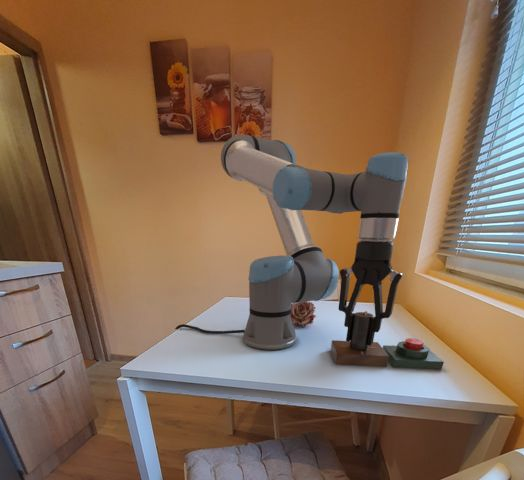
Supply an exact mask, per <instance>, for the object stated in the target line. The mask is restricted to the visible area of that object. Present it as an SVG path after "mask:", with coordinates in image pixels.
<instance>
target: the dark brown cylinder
mask: <svg viewBox="0 0 524 480" xmlns="http://www.w3.org/2000/svg"><path fill="white" fill-rule="evenodd" d="M353 313H354V318H353V325H352V332H351V339H350V348H351V349H354V350H358V351H365V350H367V349H368V345H367V343H368V337H369V331H370V326H371V320H372V318H373V317H374V314H372V313H370V312H368V311H364V312H363V311H360V312H359V311H358V312H353Z"/></svg>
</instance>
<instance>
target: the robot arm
mask: <svg viewBox="0 0 524 480" xmlns="http://www.w3.org/2000/svg"><path fill="white" fill-rule="evenodd" d="M294 151H295V150H294V149H293V148H292V146H291V145H290V144H288V143H287V142H283V141H281V140H279V139H269V138H264V137H259V136H253V135H248V134H237V135H234V136H232V137H230V138H229V139H228V140H226V141H225V143H224V145H223V146H222V148H221V152H220V163H221V167H222V169H223V170H224V172H225V173H226V175H228V176H229V177H230V178H232V179H234V180H235V181H237V182H247V183H249V184H251V185H252V186H254V187H256V188H258V191H259V193H260V194H262V196H265V197H266V199H267V203H268V205H269V209H270V211H271V215H272V217H273V221H274V222H275V226H276V228H277V232H278V234H279V237H280V241H281V243H282V246H283V249H284V252H285V254H286V255H272V256H271V255H269V256H264V257H260V258H257V259H255V260H253V261H252V262H251V263H250V265H249V271H248V274H249V275H248V289H249V292H248V293H249V294H248V295H249V296H248V297H249V298H248V300H249V301H248V302H249V315H248V319H247V322H246V325H245V329H234V330H233V329H231V330H209V329H202V328H200V327H197V326H194V325H190V324H183V323H181V324H178V325H176V327H175V330H179V329H181V328H188V329H190V330H191V329H192V330H196V331H199V332H200V333H203V334H210V335H211V334H212V335H217V334H218V335H227V334H228V335H229V334H243V343H244V344H245V345H247V346H249V347H250V348H254V349H257V350H263V351H278V350H285V349H288V348H291V347H292V346H294V345H295V344H296V338H297V336H296V330H295V326H294V322H292V319H291V304H293V303H298V302H317V301H321V300H324V299H328V298H329V297H331V296H332V295H333V294H334V292H335V291H336V289H337V287H338V283H339V279H340V280H341V281H340V291H339V299H338V308H337V309H338V311H340V312H343V313H344V315H345V316H344V324H343V325H344V327H345V328H347V331H346V338H345V341H350V339H351V332H352V325H353V318H354V313H355V312H354V311H355V308H356V305H357V302H358V300H359V297H360V294H361V292H362V290H363V287H364V286H365V285H369V286H372V290H373V303H374V315H373V318H372V320H371V326H370V331H369V337H368V343H367V345H369V346H371V344H372V343H373V342H374V340H375V334H376V333H379V331H380V330H381V326H382V322H383V319H389V318H390V317H391V316H392V314H393V311H394V307H395V306H394V305H395V301H396V297H397V291H398V289H399V283H400V282H401V280H402V279H403V277H404V273H403V272H398V271H395V270H394V269H393V267H392V263H391V261H392V256H393V251H394V246H395V244H394V242H392V241H393V240H394V239H395V238H396V236H397V235H396V234H397V229H398V225H399V218H400V211H401V210H400V209H401V205H402V200H403V196H404V191H405V187H406V183H407V173H408V166H409V158H408V156H407V155H406V153H405V154H404V153H402V152H395V151H394V152H393V151H392V152H391V151H389V152H382V153H381V152H380V153H377V154H374V155H373V156H371V157H369V159H368V161H367V165H366V168H365V171H362V172H356V173H349V174H347V173H340V172H339V173H338V172H331V171H325V170H323V171H322V170H317V169H311V168H308V167H304V166H301V165H298V164H296V163H297V159H296V154H295V152H294ZM303 211H317V212H327V213H330V214H340V215H341V214H344V213H354V212H360V219H359V226H358V231H357V239H359V241H357V243H356V246H355V247H356V248H355V254H354V261H353V263H352V265H351V266H350V267H346V268H345V267H344V268H341V269H340V270H339V267H338V265H337V263H336V262H335V261H334V260H332V259H331V258H326V257H325V255H324V252H323V249H322V248H321V246H318V245H315V243H314V241H313V238H312V235H311V233H310V230H309V227H308V224H307V222H306V219H305V217H304V214H303ZM352 274H353V275H354V277H355V279H356V281H355V284H354V287H353V290H352V293H351V296H350V298H349V301H348V297H349V288H350V277H351V276H352ZM388 276H390V277H389V281H390V282H391V283H390V285H389V290H388V295H387V299H386V305H385V308H384V305H383V290H382V289H383V281H384V280H385V279H386V278H387V277H388Z"/></svg>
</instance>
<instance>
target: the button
mask: <svg viewBox="0 0 524 480" xmlns="http://www.w3.org/2000/svg"><path fill="white" fill-rule="evenodd" d="M404 341H405V344H404V347H406V348H408V349H413V350H422V348H423V345H425V344H424V343H425V342H424V341H422V340H421V339H418V338H409V337H408V338H406V339H404Z"/></svg>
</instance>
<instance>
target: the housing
mask: <svg viewBox="0 0 524 480" xmlns="http://www.w3.org/2000/svg"><path fill="white" fill-rule="evenodd" d="M404 344H405V340H402V341H399V342H397V345H385V344H384V345H383V346H382V348H383V349H384V351H385V352H386V353H387V354H388V356H389V358H388V363H389V365H391V367H392V368H393V369H412V370H413V369H414V370H429V371H430V370H431V371H432V370H434V371H442V370H443V366H444V363H445V361H444V360H443V359H442V358H440V357H439V356H438V355H437V354H435V353H434V352H433V351H432V350H431V349H430V347H428V346H427V345H425V344H423V348H422V350H413V349H408V348H406V347H404Z"/></svg>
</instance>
